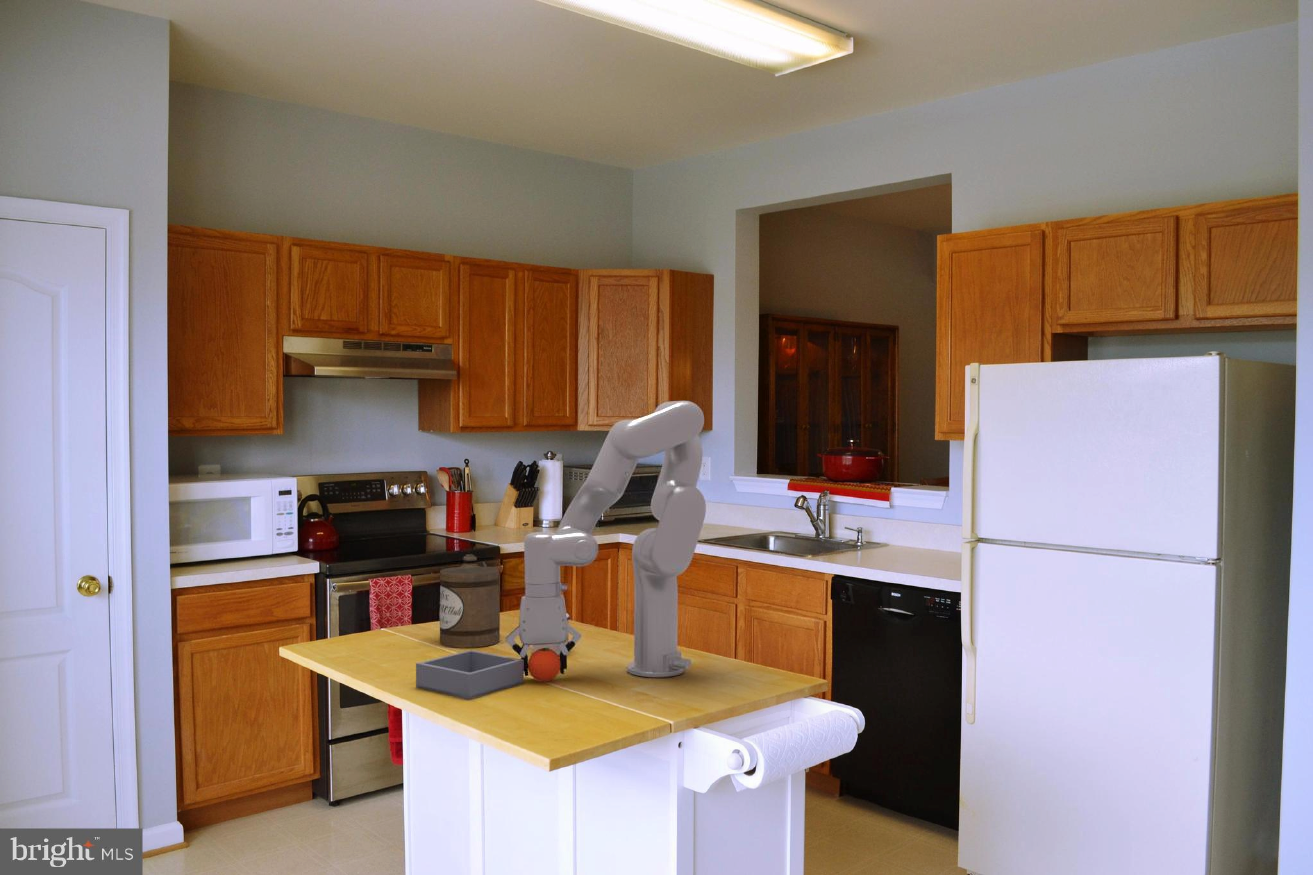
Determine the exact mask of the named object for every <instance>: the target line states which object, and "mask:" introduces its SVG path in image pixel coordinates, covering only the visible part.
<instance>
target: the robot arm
mask: <svg viewBox="0 0 1313 875" xmlns="http://www.w3.org/2000/svg"><path fill="white" fill-rule="evenodd" d="M704 424H705V417H704V412H703V411H702V409H701V407H700V406H698V405H697V404H696V403H695V402H692V401H690V400H675V401H673V400H672V401H665V402H663V403H660V404H659V405H658V406H657V407H656V408H655V409H654V411H653V413H650V414H648V415H645V416H642V417H639V418H635V419H623V420H619V421H618V422H616V423H614V424H613V426H612V427H610V430H609V432H608V434H607V435H606V438H605V440H604V441H603V444H602V446H601V448H600V451H599V452H598V455H597V457H596V459H595V461H594V463H593V466H592V468H591V469H590V472H589V473H588V476H587V478H586V479H585V481H584V483H583V484H582V486H581V487H580V488H579V490H578V492H577V493H576V495H575V496H574V498H573V499H572V501H571V502H570V503H569V506H568V507H567V509H566V511H565V513H564V514H563V517H562V518H561V521H560V522H559V525H558V528H557V530H556V532H554V531H553V532H552V531H537V532H535V531H534V532H530V533H528V534H526V535H525V537H524V540H523V541H524V543H523V546H524V547H523V550H524V551H523V552H524V555H523V556H524V596H521V599H520V606H519V616H518V618H519V622H518V626H517V627H515V628H514V629H513V631H511V632H510V633H509V634H508V635H507V636H506V637H505V642H506V643H507V644H508V645H509V647H510V648H512V650H513V651H514V652H515V653H516V654H518V656H520V659H522V660H524V677H528V676H529V670H528V661H529V656H528V655H529V654H528V652H529V649H530V648H531V646H532V645H543V644H558V646H559V647H560V649H561V652H560V656H559V658H560V663H561V666H560V671H559V673H560V674H561V675H564V674H565V670H567V669H568V654H569V653H570V652H571V651H572V650H573V649H574V648H575V646H576V644H577V643H578V642H579V641H580V640H581V638H582V634H581V633H580V632H579V631H578V630H576V629H575V628H574V627H573V626H571V625H570V623H569V624H567V615H566V613H567V606H566V602H565V597H564V594H562V592H564V591H568V583H562V582H561V566H568V567H569V566H571V567H585V566H587V565H590V564H592V562H594V560H595V559H596V558H597V556H598V554H599V545H598V542H597V540H596V538H595V537H594V536H593V535H592V532H593V530H594V528H595V527H596V524H597V522H598V521H599V519H600V518H601V516H602V515H603V514H604V513H605V511H606V510H608V509H609V508H610V507H612V506H613V505H614V504H616V502H618V500H620V498H622V496H623V495H624V493H625V490H626V488H627V486H628V484H629V483H630V482H629V481H630V479H631V478H632V475H633V473H634V471H635V468H636V466H637V464H638V462H639V460H642V459H646V458H650V457H653V456H655V455H657V454H660V453H664V455H663V456H664V457H663V462H662V466H661V470H660V473H659V476H658V479H657V481H656V482H657V483H656V485H655V488H654V491H653V494H652V497H651V501H650V509H651V510H650V512H651V513H652V515H653V517H654V518H655V519H656V520H658V521H659V523H658V526H657V527H651V528H647V529H644V530H643V531H641V532H640V533H639V534H638V535H637V536H636V537H635V540H634V542H633V544H632V549H631V550H632V551H631V557H632V558H631V559H632V568H633V577H634V623H633V624H634V632H633V634H634V636H633V637H634V641H633V643H634V649H633V650H634V652H633V653H634V654H633V656H634V657H633V658H634V661H632V662H629V664H627V667H626V668H627V669H626V671H627V672H628V673H629V674H631V675H633V676H638V677H643V678H669V677H675V676H678V675H681V674H683V673H684V672H685V670H689V669H690V667H691V666H690V665H691V662H692V660H691V659H690V658H683V657H682V651H680V650H678V602H679V600H678V599H679V598H678V596H679V595H678V592H679V590H678V580H677V579H678V578H677V576H679V575H681V574H684V572H686V570H687V568H688V567H689V566H690V564H691V562H692V559H693V556H694V554H695V550H696V549H697V548H696V547H697V544H698V543H699V542H698V541H699V539H700V535H701V531H702V528H703V526H704V522H705V519H706V514H707V513H706V512H707V504H706V500H705V499H706V498H705V497H704V494H703V493H702V492H701V490H700V489H698V488H697V485H698V481H699V476H700V474H701V471H702V470H701V469H702V465H703V458H704V457H703V455H704V454H703V446H702V443H701V439H700V436H699V434H700V433H701V432H702V430H703V427H704V426H705V425H704ZM568 632H569V633H568ZM569 634H570V635H571V636H572V638H571V639H569V640H568V643H567V644H566V645H565V644H564V642H565V641H566V640H567V635H568V636H569ZM516 637H518V638H519V640H520V642H521V644H522V645H520V644H518V643H517V642H516V641H515V639H516Z"/></svg>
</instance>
